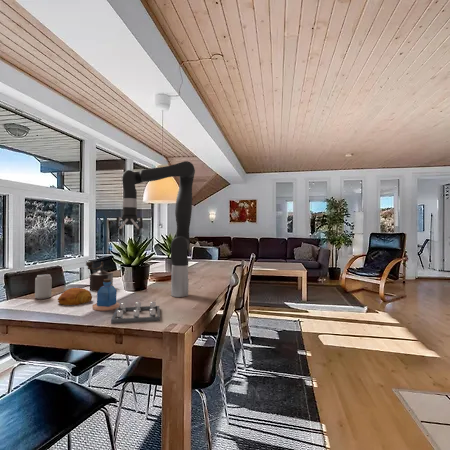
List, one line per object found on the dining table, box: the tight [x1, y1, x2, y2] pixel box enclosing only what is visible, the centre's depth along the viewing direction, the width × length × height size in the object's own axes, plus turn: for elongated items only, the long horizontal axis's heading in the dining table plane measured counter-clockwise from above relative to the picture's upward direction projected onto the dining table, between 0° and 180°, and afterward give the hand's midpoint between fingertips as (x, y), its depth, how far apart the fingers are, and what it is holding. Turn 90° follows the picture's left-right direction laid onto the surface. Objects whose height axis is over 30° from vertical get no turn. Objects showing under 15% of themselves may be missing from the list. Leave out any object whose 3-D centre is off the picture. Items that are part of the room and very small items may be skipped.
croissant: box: [57, 287, 93, 306], centre depth 151 cm, size 14×16×8 cm
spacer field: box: [110, 301, 161, 324], centre depth 130 cm, size 19×18×4 cm
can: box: [34, 273, 53, 300], centre depth 159 cm, size 8×8×12 cm
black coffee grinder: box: [85, 260, 114, 292], centre depth 180 cm, size 16×11×18 cm
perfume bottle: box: [96, 279, 117, 307], centre depth 143 cm, size 6×6×12 cm
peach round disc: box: [92, 301, 120, 312], centre depth 143 cm, size 12×12×1 cm
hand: (129, 235), depth 168 cm, fingers open, 8 cm apart
